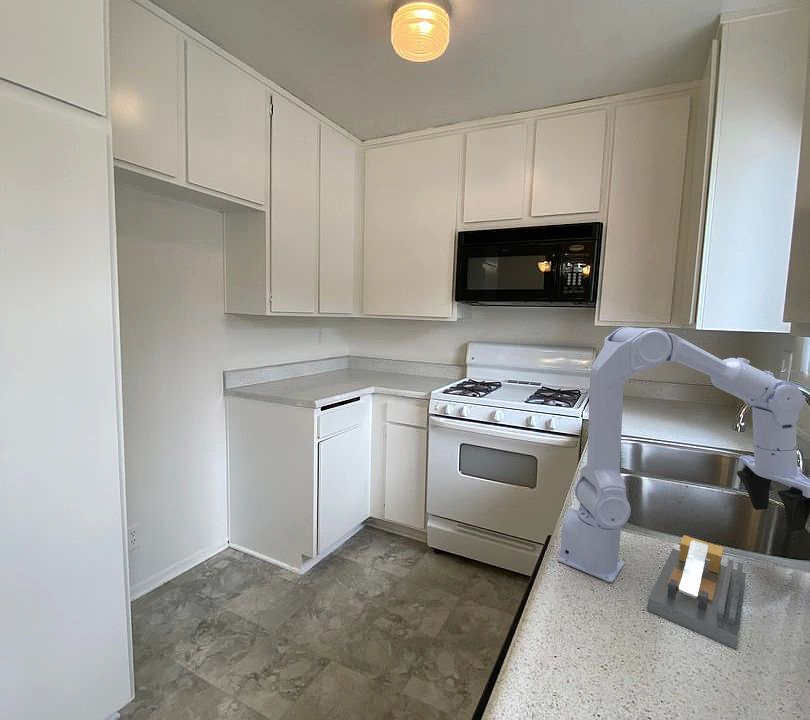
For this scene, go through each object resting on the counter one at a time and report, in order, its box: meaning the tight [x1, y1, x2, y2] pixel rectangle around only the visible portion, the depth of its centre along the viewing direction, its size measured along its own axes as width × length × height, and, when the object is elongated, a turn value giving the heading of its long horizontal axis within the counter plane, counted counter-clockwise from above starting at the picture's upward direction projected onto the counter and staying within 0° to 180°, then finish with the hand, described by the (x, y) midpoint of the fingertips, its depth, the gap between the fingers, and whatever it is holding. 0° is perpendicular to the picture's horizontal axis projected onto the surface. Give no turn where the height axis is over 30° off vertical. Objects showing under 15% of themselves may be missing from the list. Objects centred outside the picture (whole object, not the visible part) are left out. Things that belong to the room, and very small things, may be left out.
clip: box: [679, 534, 724, 573], centre depth 76 cm, size 6×4×3 cm, turn 48°
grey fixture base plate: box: [647, 548, 747, 650], centre depth 70 cm, size 11×20×4 cm, turn 138°
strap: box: [679, 540, 708, 599], centre depth 69 cm, size 2×11×1 cm, turn 138°
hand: (777, 518), depth 76 cm, fingers open, 7 cm apart
